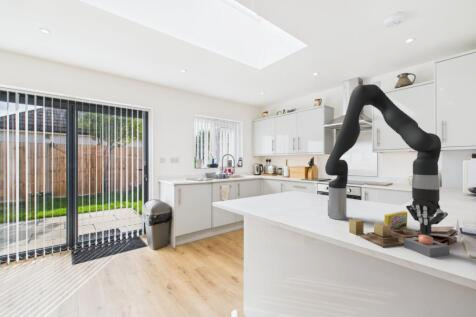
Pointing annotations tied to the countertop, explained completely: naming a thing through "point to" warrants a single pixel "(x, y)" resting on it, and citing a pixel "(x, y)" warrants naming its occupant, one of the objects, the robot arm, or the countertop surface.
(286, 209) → the countertop surface
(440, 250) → the button housing
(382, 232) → the block
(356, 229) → the block
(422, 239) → the button
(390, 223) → the candy box
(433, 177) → the robot arm
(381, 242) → the pallet
